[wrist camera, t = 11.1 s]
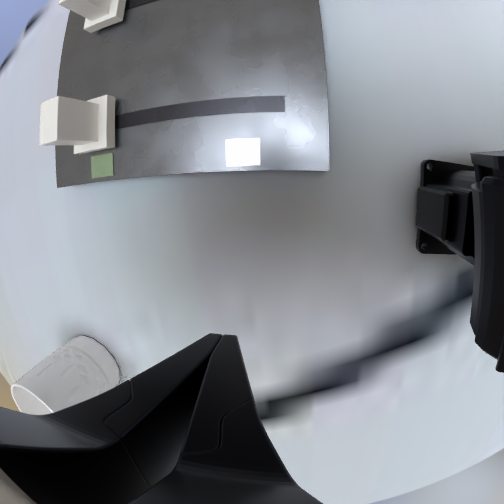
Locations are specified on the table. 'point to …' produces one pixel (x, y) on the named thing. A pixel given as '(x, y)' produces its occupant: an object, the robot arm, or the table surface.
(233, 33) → the board
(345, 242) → the table surface
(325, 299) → the table surface
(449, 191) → the robot arm
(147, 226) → the table surface
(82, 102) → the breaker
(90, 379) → the white cup
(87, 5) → the block
